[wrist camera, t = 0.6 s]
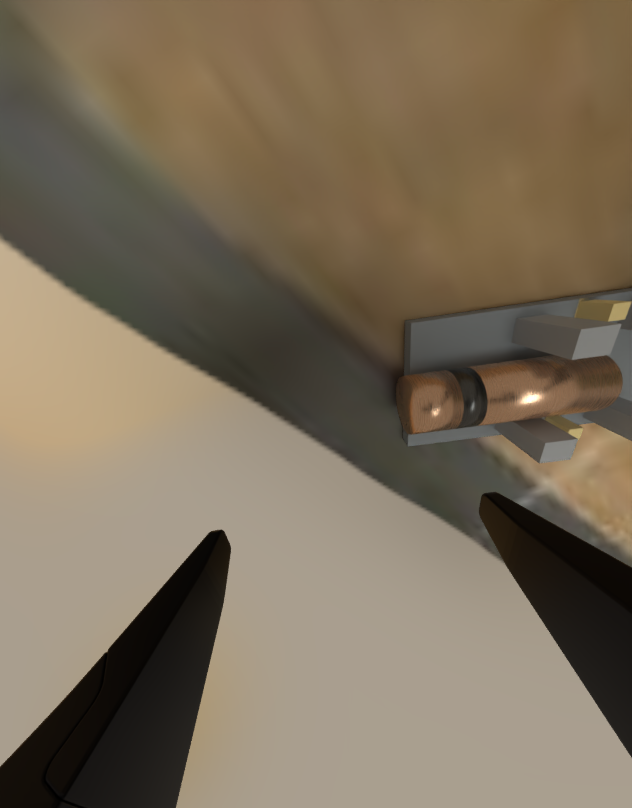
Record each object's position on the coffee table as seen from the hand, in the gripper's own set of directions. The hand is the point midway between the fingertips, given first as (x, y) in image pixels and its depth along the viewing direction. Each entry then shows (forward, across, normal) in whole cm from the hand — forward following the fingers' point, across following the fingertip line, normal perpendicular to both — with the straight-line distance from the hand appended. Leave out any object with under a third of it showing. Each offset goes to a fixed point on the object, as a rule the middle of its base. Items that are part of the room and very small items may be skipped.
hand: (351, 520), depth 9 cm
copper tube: (+11, -11, +1) cm, 16 cm away
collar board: (+12, -16, +1) cm, 20 cm away
